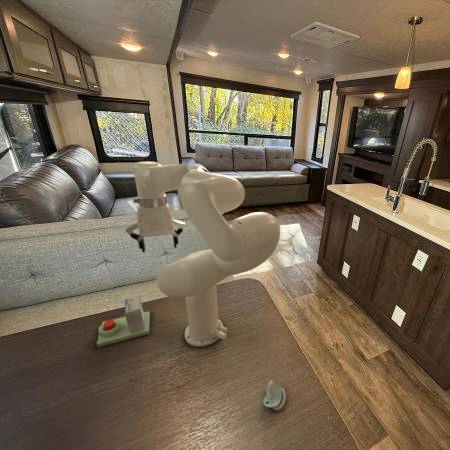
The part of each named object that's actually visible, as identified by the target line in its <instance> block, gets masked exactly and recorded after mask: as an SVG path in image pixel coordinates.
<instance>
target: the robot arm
mask: <svg viewBox="0 0 450 450" xmlns="http://www.w3.org/2000/svg"><path fill="white" fill-rule="evenodd" d="M132 169H133V175H134V182H135V187H136V192H137V197H136V198H133V199H132V202H133V204H138V205H137V206H136V220H137V221H136V223H134V224H132V225H130V226H128V227H126V228H125V232H126V233H127V235H129V236H130V238H132V239H133V240H135V241H136V242H137V243H138V247H139V250H141V252H142V253H145V252H146V244H145V239H144V238H151V237H152V238H153V237H159V236H168V235H171V236H172V239H173V247H174V248H176V249H177V245H179V236H180V235H181V234H182V233H183V231H184V229H185V227H186V223H185V222H183V221H180V220H177V219H174V218H173V213H172V209H171V206H170V204H169V203H168V202H167V197H166V193H167V192H172V191H177V190H180V193H181V197H180V198H181V199H180V200H181V204H182V207H183V209H184V211H185V213H186V214H187V217H188V218H189V220H190V222H191V223H192V224H193V226H194V227H195V228H196V230H197V232H199V234H200V236H201V237H202V238H203V240H204V242H205V243H206V244H207V246H208V247H209V248H208V249H206V250H203V249H202V250H198V251H195V252H192V253H190V254H188V255H186V256H183V257H181V258H179V259H178V260H175V261H172V262H170V263H168V264H166V265H164V266H162V267H161V268H159V270H158V272H157V274H156V285H157V288H158V290H159V291H160V292H161V293H162V294H163V295H165V296H167V297H169V298H171V299H181V298H185V305H186V314H187V322H188V325H187V327H186V328H185V331H184V339H185V341H186V343H187V344H188V345H190V346H192V347H199V348H200V347H201V348H202V347H207V346H210V345H212V344H213V343H215V342H217V341H218V340H219V339H220V340H224V341H225V340H226V338H227V335H228V334H227V331H228V328H227V327H225V326H224V324H223V322H222V320H220V319H219V310H218V290H217V285H218V283H220V282H221V281H223V280H225V279H226V278H228V277H232V276H236V275H239V274H243V273H246V272H249V271H252V270H254V269H256V268H257V267H259V266H261V265H263V264H264V263H265V262H266V261H267V260H269V258H270V257H271V256H272V255H273V254H274V253H275V251H276V250H277V248H278V246H279V242H280V238H281V226H280V222H279V220H278V219H277V218H276V217H275V215H273V214H271V213H268V212H264V211H258V212H251V213H248V214H245V215H243V216H240V217H237V218H234V219H232V220H229V221H227V220H226V218H225V217H224V216H223V215H222V214H225V213H228V212H231V211H233V210H235V209H237V208H238V207H240V206H241V205H242V204H243V202H244V200H245V198H246V197H245V196H246V191H245V188H244V185H243V184H242V183H241V181H240V180H238V179H236V178H234V177H231V176H227V175H223V174H219V173H214V172H208V171H204V169H202V168H201V167H200V166H198V165H193V164H186V163H175V164H163V165H161V164H160V163H159V162H156V161H147V160H146V161H138V162H135V163H134V164H133V167H132ZM175 225H176V226H179V228H177V230H176V229H175ZM136 229H138V233H136V232H135V230H136Z"/></svg>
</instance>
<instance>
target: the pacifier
mask: <svg viewBox="0 0 450 450" xmlns="http://www.w3.org/2000/svg"><path fill="white" fill-rule="evenodd" d="M265 393H266V395H265V396H264V398H263V400H262V405H263V406H264V407H266V408H270V409H273V410H274V411H280V410H281V409H283V408H284V406H285V403H286V400H287V393H286V390H285V388H284V387H283V386H282V385H281V383H280V382H279V381H278V380H276V379H271V380H269V381H268V382H267V383H266V387H265Z"/></svg>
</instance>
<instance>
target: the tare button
mask: <svg viewBox="0 0 450 450" xmlns="http://www.w3.org/2000/svg"><path fill="white" fill-rule="evenodd" d="M105 321H106V322H105ZM105 321H104V322H105V323H104V324H103V326H104V330H106V331H107V330H111V329H113V328H114V327H115V321H114V320H113V319H108V320H105Z"/></svg>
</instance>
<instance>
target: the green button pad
mask: <svg viewBox="0 0 450 450" xmlns="http://www.w3.org/2000/svg"><path fill="white" fill-rule="evenodd" d="M143 313H144V322H145V328H143V329H140V330H138V331H135V332H131V333H130V331H129V328H128V324H127V320H126V316H123V317H122V316H121V317H119V318H114V319H112V320H114V321H115V327H114V328H113V329H111V330H107V331H106V330H104V326H103V324H104V323H105V322H106V321H107V320H104V321H102V322H101V325H100V326H98V329H97V330H98V337H97V341H96V346H97V348H101V347H104V346H108V345H112V344H116V343H119V342H123V341H127V340H131V339H135V338H138V337H142V336H146V335H149V334H150V323H151V322H150V317H151V312H150V311H143Z"/></svg>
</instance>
